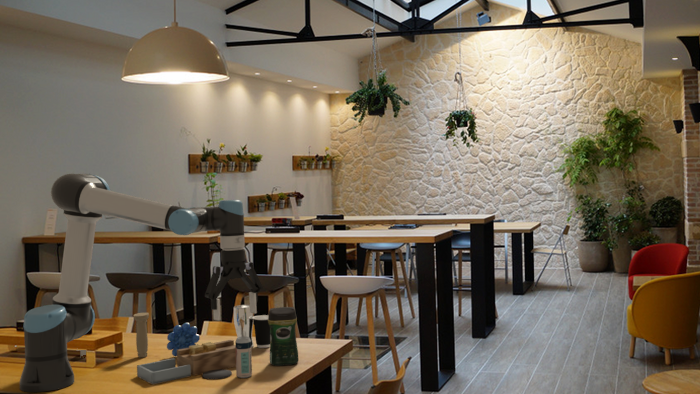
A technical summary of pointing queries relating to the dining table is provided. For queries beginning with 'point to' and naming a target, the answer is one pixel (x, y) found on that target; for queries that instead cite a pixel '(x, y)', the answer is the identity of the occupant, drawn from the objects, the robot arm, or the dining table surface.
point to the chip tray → (162, 371)
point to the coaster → (217, 374)
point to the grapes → (182, 337)
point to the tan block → (208, 347)
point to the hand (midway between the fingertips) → (235, 316)
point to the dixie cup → (262, 331)
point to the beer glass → (243, 321)
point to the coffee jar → (283, 336)
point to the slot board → (209, 358)
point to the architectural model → (82, 352)
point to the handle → (141, 334)
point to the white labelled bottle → (243, 357)
